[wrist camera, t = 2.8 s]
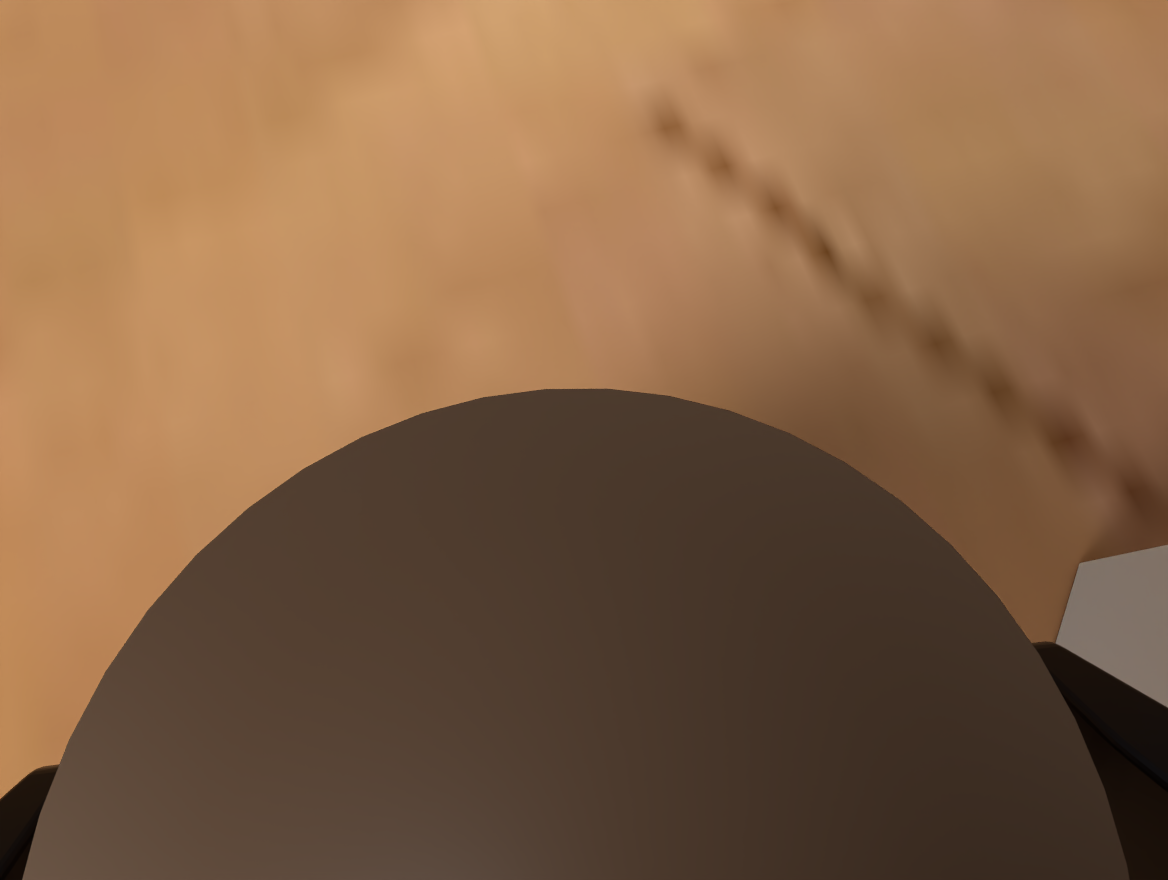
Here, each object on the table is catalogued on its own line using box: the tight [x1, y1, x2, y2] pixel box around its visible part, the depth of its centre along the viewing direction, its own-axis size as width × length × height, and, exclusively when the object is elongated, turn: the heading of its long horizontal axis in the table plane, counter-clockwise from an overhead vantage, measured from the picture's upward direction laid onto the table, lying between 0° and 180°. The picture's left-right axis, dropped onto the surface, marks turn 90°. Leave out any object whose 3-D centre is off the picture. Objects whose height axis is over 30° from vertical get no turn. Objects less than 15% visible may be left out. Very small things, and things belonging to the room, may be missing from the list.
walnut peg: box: [22, 389, 1130, 880], centre depth 9 cm, size 4×4×13 cm
